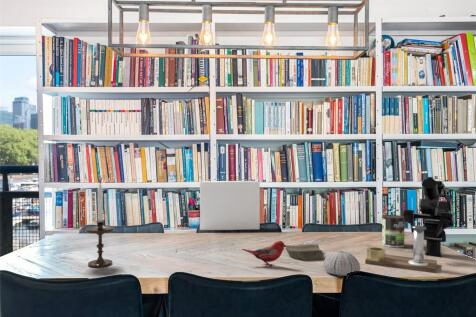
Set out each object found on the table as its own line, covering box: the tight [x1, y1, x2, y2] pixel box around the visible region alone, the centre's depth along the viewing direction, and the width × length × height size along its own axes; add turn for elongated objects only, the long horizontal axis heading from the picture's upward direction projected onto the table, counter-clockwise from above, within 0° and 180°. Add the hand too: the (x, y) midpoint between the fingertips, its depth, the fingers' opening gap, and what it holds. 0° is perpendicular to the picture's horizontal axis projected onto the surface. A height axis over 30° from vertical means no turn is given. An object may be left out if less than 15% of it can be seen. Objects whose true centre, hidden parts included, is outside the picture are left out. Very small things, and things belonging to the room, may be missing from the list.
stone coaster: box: [408, 260, 428, 266], centre depth 150 cm, size 7×7×1 cm
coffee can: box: [381, 214, 405, 249], centre depth 188 cm, size 10×10×14 cm
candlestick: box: [85, 176, 116, 269], centre depth 154 cm, size 11×11×35 cm
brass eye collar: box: [366, 246, 386, 261], centre depth 157 cm, size 7×7×4 cm
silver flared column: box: [412, 225, 426, 263], centre depth 150 cm, size 5×5×14 cm
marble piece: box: [285, 243, 323, 261], centre depth 168 cm, size 17×15×4 cm
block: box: [199, 180, 261, 231], centre depth 231 cm, size 35×8×28 cm, turn 96°
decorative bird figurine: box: [241, 240, 288, 267], centre depth 153 cm, size 3×18×10 cm, turn 81°
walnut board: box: [364, 253, 438, 273], centre depth 155 cm, size 13×25×2 cm, turn 60°
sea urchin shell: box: [322, 250, 361, 277], centre depth 143 cm, size 13×14×8 cm
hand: (424, 233), depth 157 cm, fingers open, 9 cm apart
